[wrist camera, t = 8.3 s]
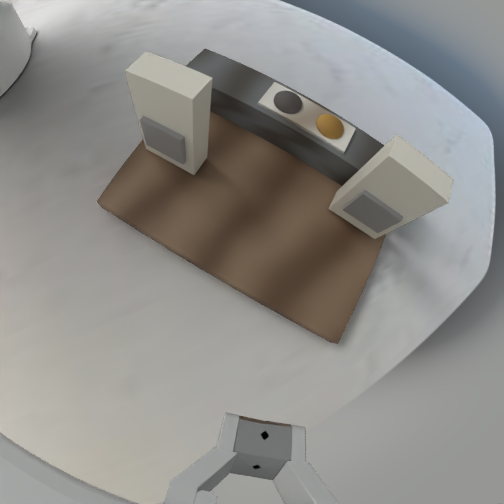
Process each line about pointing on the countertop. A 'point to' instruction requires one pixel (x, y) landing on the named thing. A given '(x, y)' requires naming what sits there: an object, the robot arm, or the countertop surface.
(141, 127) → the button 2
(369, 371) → the countertop surface
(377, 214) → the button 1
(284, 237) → the console
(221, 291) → the countertop surface
